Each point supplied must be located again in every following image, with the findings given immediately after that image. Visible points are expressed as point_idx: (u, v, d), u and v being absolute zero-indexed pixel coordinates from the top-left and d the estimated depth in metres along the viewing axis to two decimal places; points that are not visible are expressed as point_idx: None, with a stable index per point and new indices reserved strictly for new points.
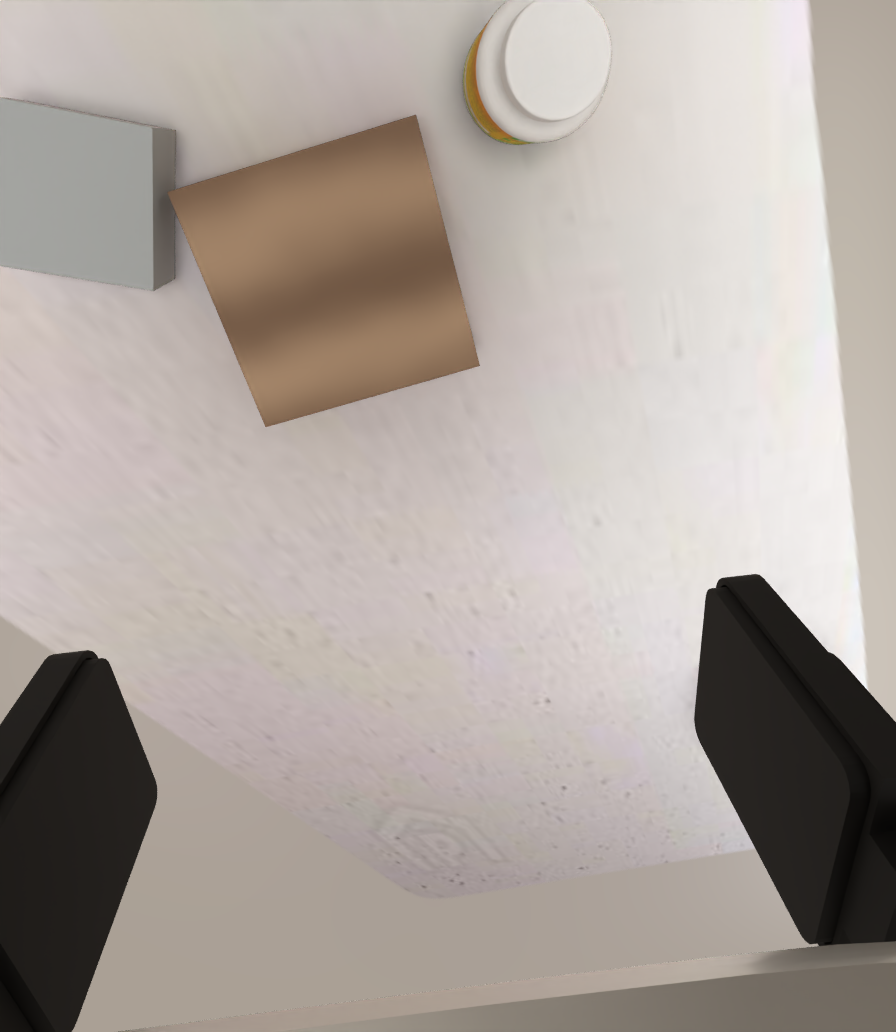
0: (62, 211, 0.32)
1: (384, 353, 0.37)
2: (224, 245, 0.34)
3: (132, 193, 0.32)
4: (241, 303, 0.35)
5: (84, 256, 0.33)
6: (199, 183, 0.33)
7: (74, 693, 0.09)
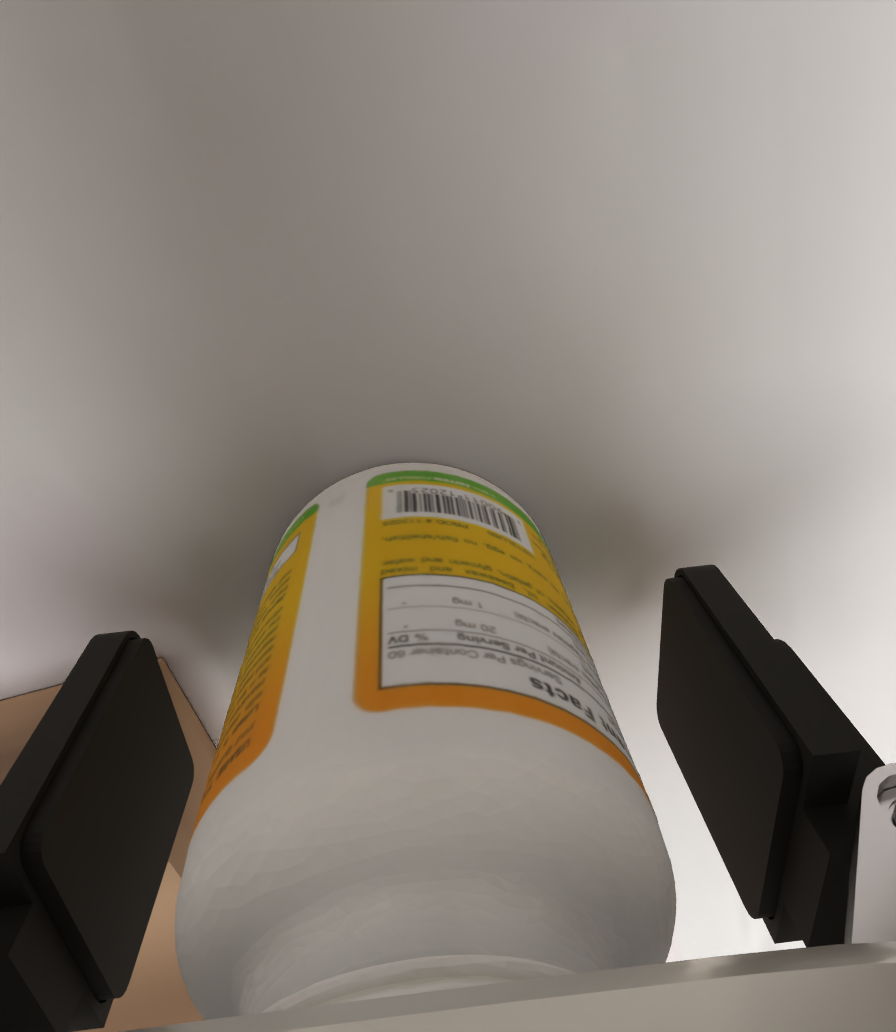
0: None
1: None
2: None
3: None
4: None
5: None
6: None
7: (121, 670, 0.10)
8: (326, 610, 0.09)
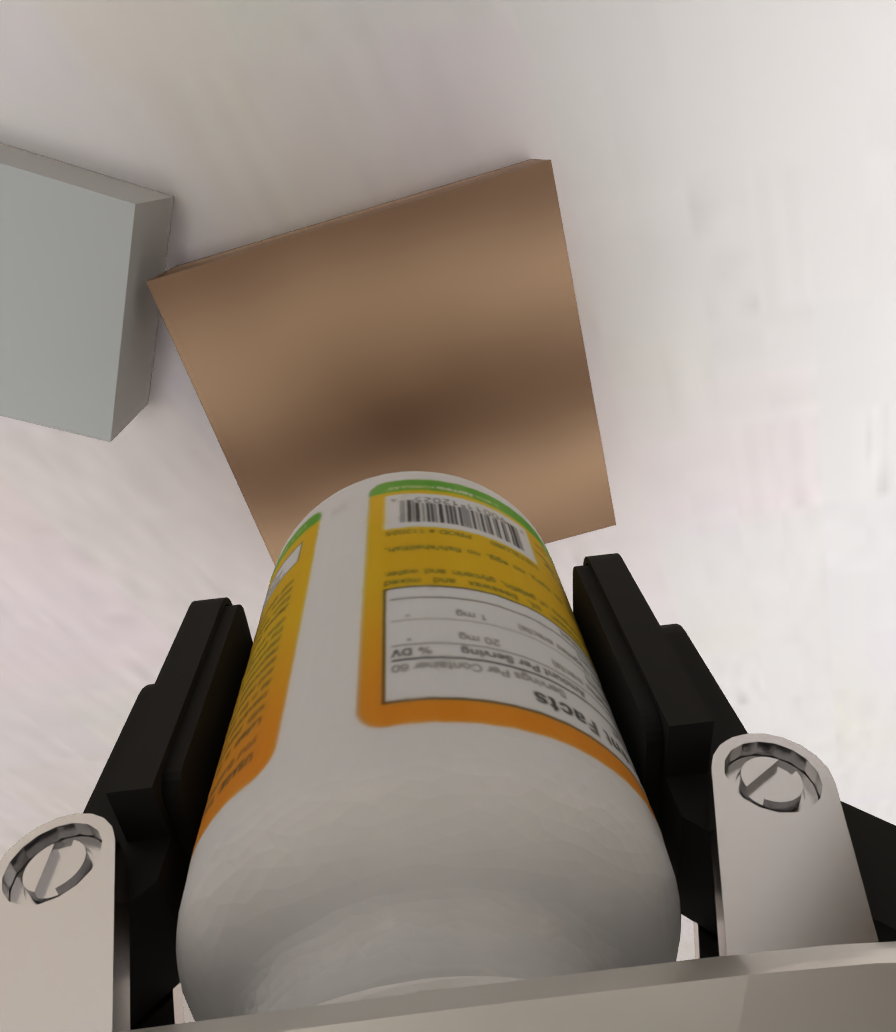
0: None
1: None
2: (237, 361, 0.22)
3: (91, 299, 0.20)
4: (261, 443, 0.23)
5: (2, 382, 0.21)
6: (197, 268, 0.20)
7: (223, 632, 0.10)
8: (329, 622, 0.09)
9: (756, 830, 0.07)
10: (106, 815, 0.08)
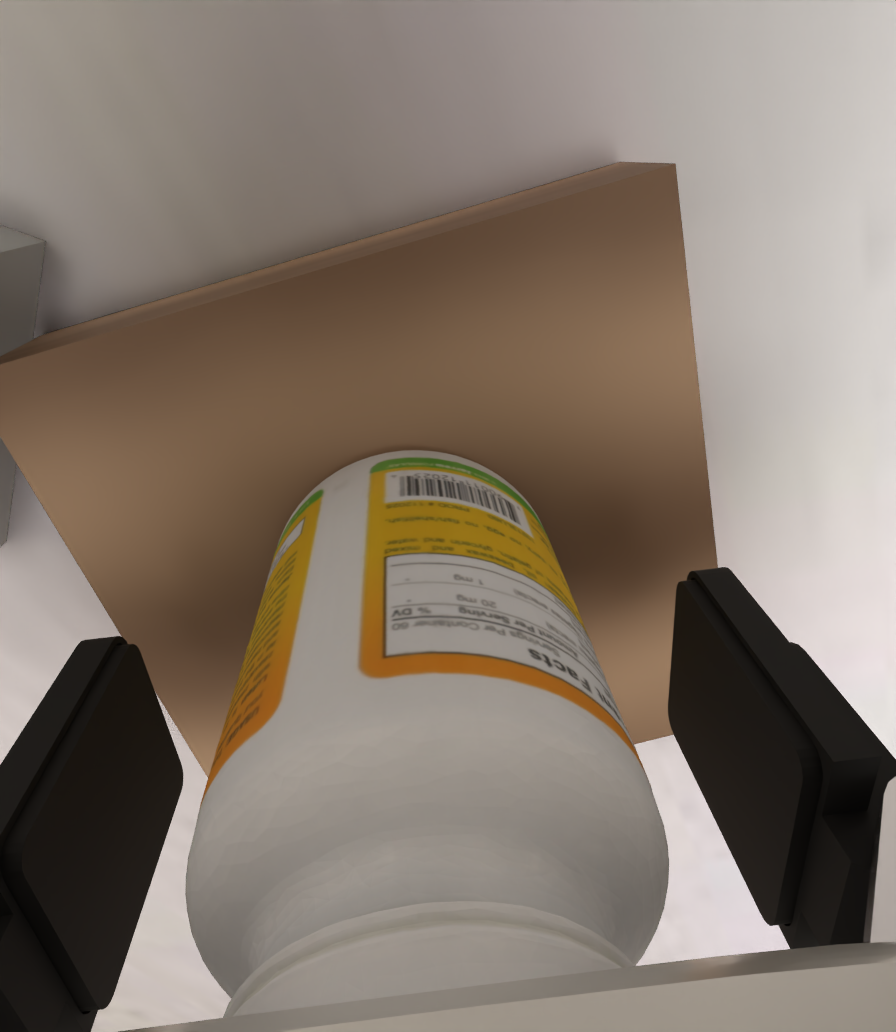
0: None
1: None
2: (131, 500, 0.13)
3: None
4: (181, 619, 0.14)
5: None
6: (52, 352, 0.12)
7: (107, 677, 0.10)
8: (332, 587, 0.09)
9: None
10: None
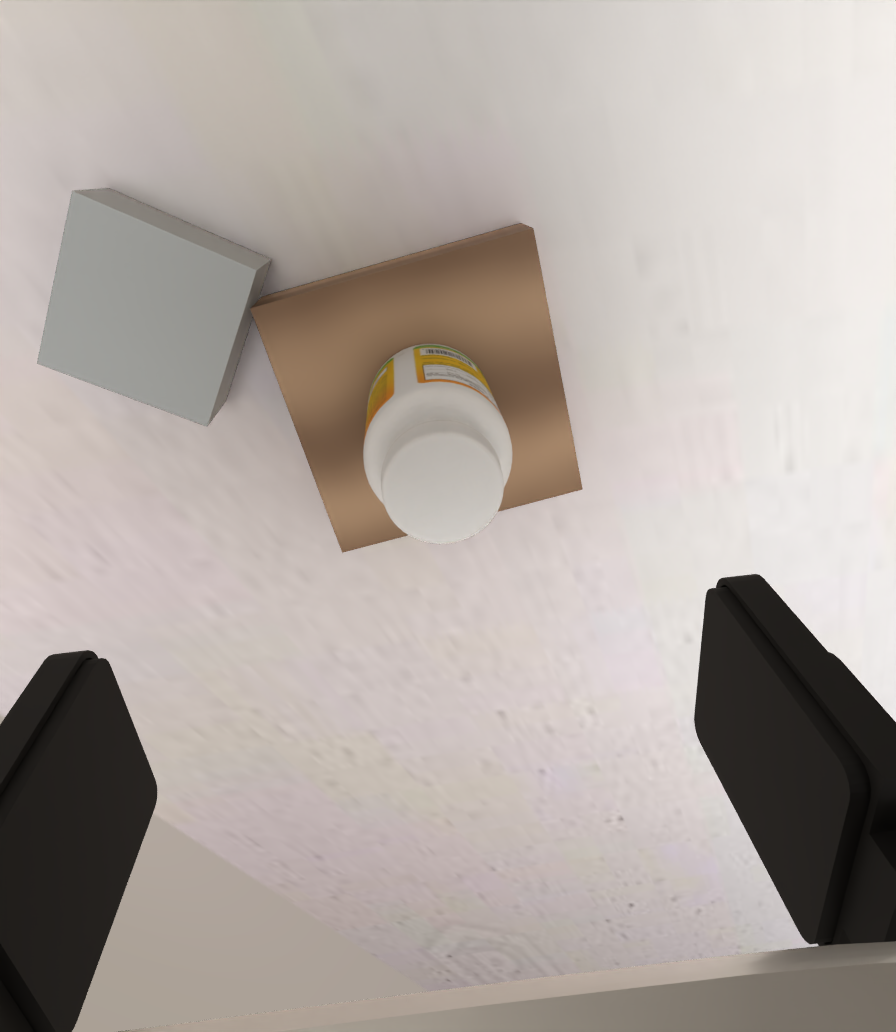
0: (129, 327, 0.28)
1: None
2: (309, 364, 0.30)
3: (214, 328, 0.29)
4: (324, 424, 0.31)
5: (140, 376, 0.29)
6: (286, 299, 0.29)
7: (74, 693, 0.09)
8: (404, 373, 0.26)
9: None
10: None
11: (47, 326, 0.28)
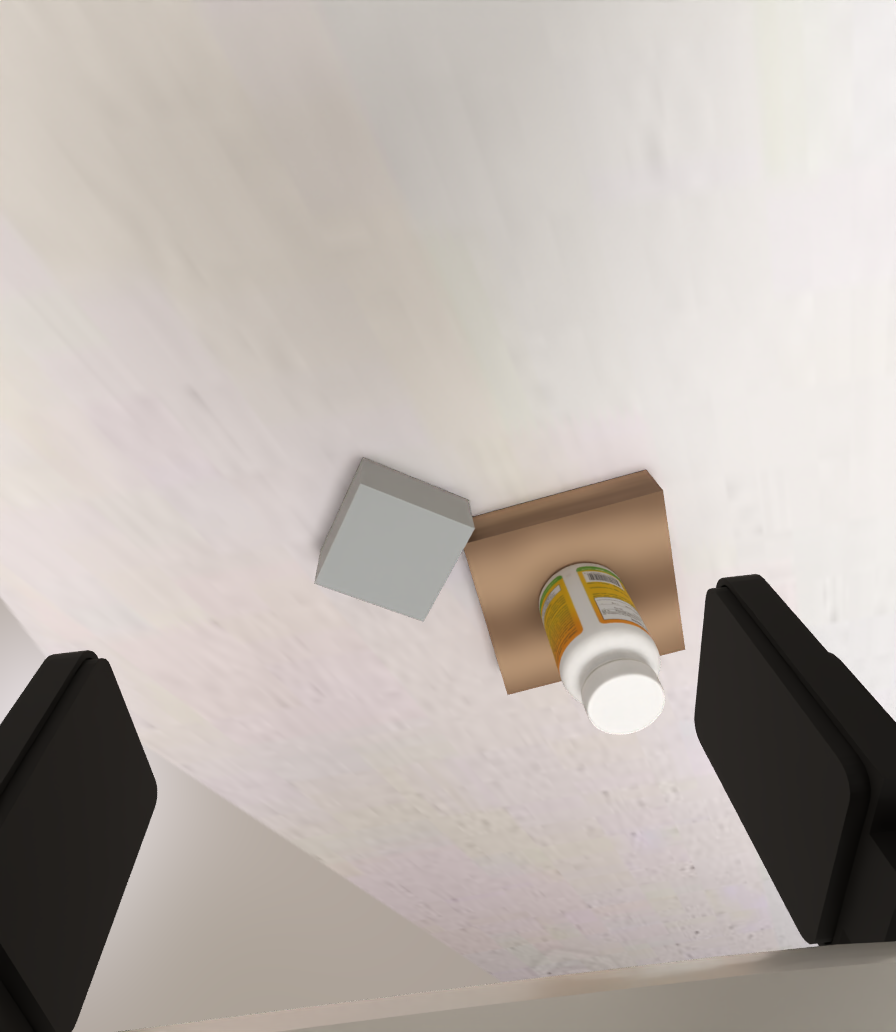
0: (381, 561, 0.41)
1: None
2: (499, 577, 0.43)
3: (439, 562, 0.41)
4: (505, 613, 0.44)
5: (383, 591, 0.42)
6: (488, 538, 0.41)
7: (74, 693, 0.09)
8: (582, 605, 0.39)
9: None
10: None
11: (326, 561, 0.41)
